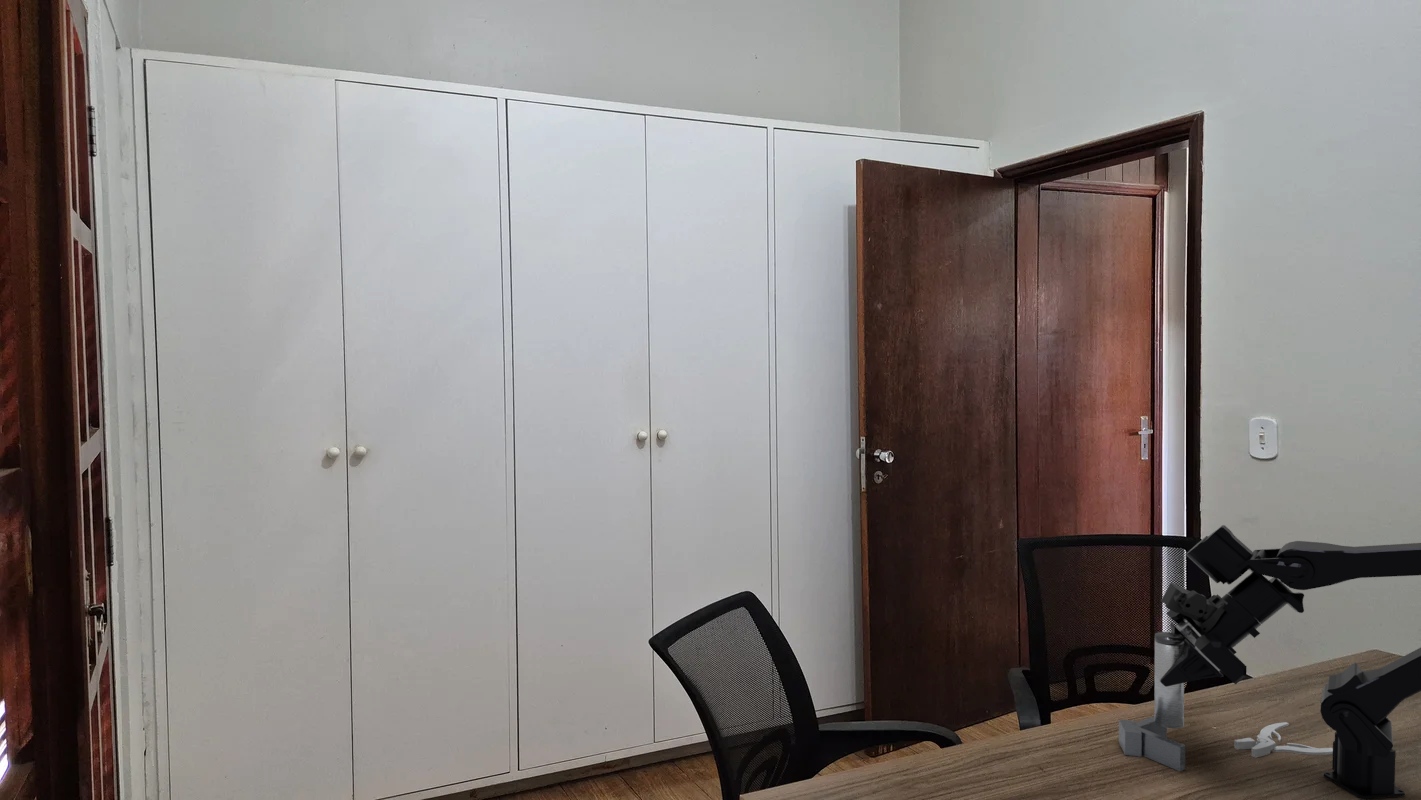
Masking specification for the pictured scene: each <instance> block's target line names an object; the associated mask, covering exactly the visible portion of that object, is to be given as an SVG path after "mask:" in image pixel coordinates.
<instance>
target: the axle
mask: <svg viewBox="0 0 1421 800" xmlns="http://www.w3.org/2000/svg"><path fill="white" fill-rule="evenodd" d="M1183 653H1184V637H1183V636H1182V635H1179V634H1176V633H1172V632H1169V631H1159V632H1155V633H1154V667H1155V673H1154V716H1155V723H1156V724H1158V725H1160V726H1162V727H1166V728H1167V729H1172V730H1174V729H1175V730H1177V729H1178V730H1179V729H1182V728H1184V727H1185V726H1184V725H1185V715H1184V714H1185V683H1181V684H1176V685H1172V686H1167V687H1165V686H1164V685H1163V684H1162V683H1161V682H1160V680H1161V678H1162V677H1163V676H1164V675H1165V673H1166V672H1167V671H1168V670H1169V669H1170V668H1171V667H1172V666H1173V665H1174V664H1175V662H1176V661H1177V660H1178V659H1179V658H1180V657H1181V656H1182V655H1183Z"/></svg>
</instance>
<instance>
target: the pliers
mask: <svg viewBox="0 0 1421 800" xmlns="http://www.w3.org/2000/svg"><path fill="white" fill-rule="evenodd" d="M1289 725H1290V722H1286V721H1285V722H1284V721H1283V722H1276V723H1272V724H1269V725H1266V726H1264V727H1263V728H1262V729H1261V730H1260V732H1259V733H1258V735H1256V740H1255V739H1253V738H1251V737H1246V738H1238V739H1234V741H1233V742H1234V743H1233V744H1234V745H1233V747H1234V749H1236V750H1250V751H1251V753H1250V755H1251V757H1253V758H1255V759H1256V758H1261V757H1264V756H1267V755H1270V754H1271V752H1273V753H1293V754H1299V755H1307V756H1324V755H1326V756H1328V755H1333V747H1320V748H1317V747H1314V746H1309V745H1306V744H1301V743H1295V742H1294V743H1292V742H1286V745H1277V743H1276V741H1274V740H1273V737H1272V735H1274V736H1276V738H1277V739H1278V743H1281V740H1282V738H1281V737H1282V736H1281V735H1280V733H1279V732H1277V731H1278V730H1280V729H1283V728H1285V727H1288V726H1289Z"/></svg>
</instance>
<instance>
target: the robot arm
mask: <svg viewBox="0 0 1421 800" xmlns="http://www.w3.org/2000/svg"><path fill="white" fill-rule="evenodd" d="M1185 556H1186V557H1187V558H1188V559H1189V560H1191V561H1192V562H1193V564H1195V565H1196V566H1197V567H1198V568H1199V569H1200V570H1201V571H1203V572H1204V573H1205V574H1206V575H1207V576H1208V577H1209V578H1211V580H1213V582H1215V583H1216V584H1219V583H1220V582H1221V584H1223V585H1225V584H1227V585H1231V584H1232V583H1234V582H1235V581H1237V580H1238V579H1239V578H1241V577H1242V576H1243V575H1244V574H1245V573H1246V572H1247V571H1250V572H1251V573H1250V574H1249V575H1247V576H1246V577H1244V578H1243V579H1242V580H1241V581H1240V582H1238V583H1237V584H1236V585H1235V586H1234V587H1233V588H1231V589H1230V590H1229V591H1228V592H1227V593H1225V594H1224V595H1223V596H1222V597H1221V596H1220V595H1219V594H1213V595H1211V596H1210V597H1209V598H1208V599H1207V597H1206V595H1204V594H1202V593H1201V594H1200V593H1198V592H1197V591H1195V590H1194V589H1193V590H1188V589H1186V588H1184V587H1181V586H1180V585H1178V584H1176V583H1172V582H1170V583H1169V585H1168V587H1167V589H1166V591H1165V592H1164V594H1163V596H1162V598H1161V600H1160V602H1161V603H1162V604H1164V606H1165V607H1166V608H1167V609H1168V611H1167V612H1166V615H1167V616H1168V617H1169V618H1170V619H1171V620H1172V621H1174V622H1175V623H1176V625H1174V623H1172V622H1170V630H1171V632H1170V633H1176V634H1179V635H1182V636H1183V637H1184V653H1183V655H1182V656H1181V657H1180V658H1179V659H1178V660H1177V661H1176V662H1175V664H1174V665H1173V666H1172V667H1171V668H1170V669H1169V670H1168V671H1167V672H1166V673H1165V675H1164V676H1163V677H1162V678H1161V680H1160V682H1161V683H1162V684H1163V685H1164V686H1165V687H1167V686H1172V685H1176V684H1181V683H1184V684H1185V683H1189V682H1193V681H1195V682H1196V681H1199V680H1200V681H1201V680H1204V679H1211V678H1216V677H1219V678H1223V677H1224V675H1225V676H1226V677H1227V678H1228V679H1229V680H1230V681H1231V682H1232V683H1233V684H1234V685H1237V684H1238V683H1239V682H1240V681H1242V680H1243V679H1244V678H1246V677H1247V667H1248V666H1247V665H1246V664H1245V663H1244V662H1243V661H1242V660H1241V659H1240V658H1238V656H1236V655H1235V654H1236V653H1237V651H1236V650H1235V649H1234V647H1236V646H1237V645H1238V644H1240V643H1241V642H1242V641H1244V640H1245V639H1246V638H1247V637H1248V636H1249V635H1250V636H1251V637H1253V638H1254V639H1256V637H1258V636H1259V635H1260V634H1261V632H1259V630H1257V629H1258V628H1260V626H1262V625H1263V624H1264V623H1265V622H1267V621H1268V620H1269V619H1271V617H1273V616H1274V615H1275V614H1277V613H1278V611H1280V610H1281V609H1282V608H1285V606H1286V605H1288V606H1289V607H1290V608H1292V610H1294V611H1295V612H1297V613H1299V614H1303V613H1304V612H1305V609H1304V597H1305V594H1304V593H1303V592H1294V591H1292V590H1291V589H1293V590H1296V591H1297V590H1298V591H1307V590H1312V589H1317V588H1322V587H1329V586H1332V585H1337V584H1340V583H1343V582H1347V581H1350V580H1355V579H1363V578H1364V579H1365V578H1386V577H1387V578H1388V577H1410V576H1411V577H1413V576H1421V542H1412V543H1395V544H1378V545H1363V546H1348V545H1339V544H1335V543H1334V544H1333V543H1328V542H1318V541H1306V540H1304V541H1303V540H1295V541H1290V542H1288V543H1285V544H1284V545H1282V547H1281V548H1266V549H1265V548H1264V549H1253V551H1252V549H1250V548H1249V547H1248V546H1247V545H1246V544H1245V543H1243V542H1242V541H1241V540H1240V539H1239V538H1238V537H1237V536H1235V534H1234V533H1233V532H1232V530H1231V529H1230V528H1228V527H1227V526H1226V525H1224V524H1223V525H1221V526H1220V527H1218V528H1217V529H1216V530H1215V531H1213V532H1212V533H1210V534H1209V535H1206V536H1205V537H1203V538H1202V539H1201V540H1200V541H1198V542H1197V543H1196V544H1195V545H1194V546H1193V547H1192V548H1190V549H1189V550H1188V551H1187V552H1186V553H1185ZM1266 577H1269V578H1271V579H1268V578H1266ZM1152 671H1153V673H1154V674H1155V666H1154V668H1153V670H1152ZM1419 692H1421V647H1418V648H1417V649H1415V650H1413V651H1412V652H1410V653H1407V654H1405V655H1404V656H1402V657H1399V658H1398V659H1396V660H1394V661H1393V662H1390V663H1388V664H1386V665H1384V666H1383V667H1380V668H1376V669H1369V670H1364V671H1363V670H1362V668H1361V667H1360V666H1359V664H1358V663H1357V662H1354V663H1352V664H1351V665H1349V666H1348V667H1347V668H1345V670H1343V671H1342V672H1339V673H1337V674H1329V675H1328V682H1327V683H1326V684H1325V685H1324V687H1323V689H1322V694H1321V700H1320V715H1321V718H1322V719H1323V721H1324V723H1325V724H1326V726H1328V727H1329V728H1331V729H1332V730H1334V731H1335V732H1334V740H1333V741H1332V748H1333V754H1332V761H1331V762H1332V764H1331V765H1332V768H1331V769H1332V770H1333V771H1323V777H1324V778H1326V779H1327V780H1329V781H1331V782H1332V783H1334V784H1336V785H1338V786H1339V787H1341V788H1343V789H1345V790H1346V791H1347V792H1349V793H1351V794H1353V795H1355V796H1357V797H1358V798H1360V799H1362V800H1363V799H1365V800H1368V799H1369V800H1370V799H1382V798H1397V797H1405V796H1406V791H1405V790H1403V789H1401V788H1400V787H1397V786H1396V782H1395V781H1396V757H1397V756H1396V754H1397V752H1396V750H1395V749H1393V748H1394V737H1393V724H1392V721H1391V720H1390V719H1389V718H1388V716H1389V715H1390V714H1391V713H1392V712H1393V711H1394V710H1395V709H1396V708H1397V706H1398V705H1400V703H1402V702H1403V701H1405V699H1408V698H1410V697H1412V696H1414V695H1416V694H1418V693H1419Z"/></svg>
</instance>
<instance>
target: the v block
mask: <svg viewBox="0 0 1421 800" xmlns="http://www.w3.org/2000/svg"><path fill="white" fill-rule="evenodd" d="M1167 730H1168V728H1166V727H1162V726H1160V725H1158V724H1156V723H1155V715H1152V716H1150V717H1147V718H1144V719H1141V720H1139V721H1135V720H1129V719H1118V743H1119V746H1120V747H1121V750H1122V752H1123V754H1124V756H1130V757H1139V758H1140V757H1145V758H1146V759H1149V760H1152V761H1153V762H1156V763H1159V764H1162V765H1163V766H1166V767H1168V768H1171V769H1172V770H1175V771H1177V772H1183V771H1185V770H1186V745H1185V744H1183V743H1181V742H1178V741H1175V740H1173V739H1170V738H1167V737H1168V736H1167V735H1168V733H1167V732H1168V731H1167Z"/></svg>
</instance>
